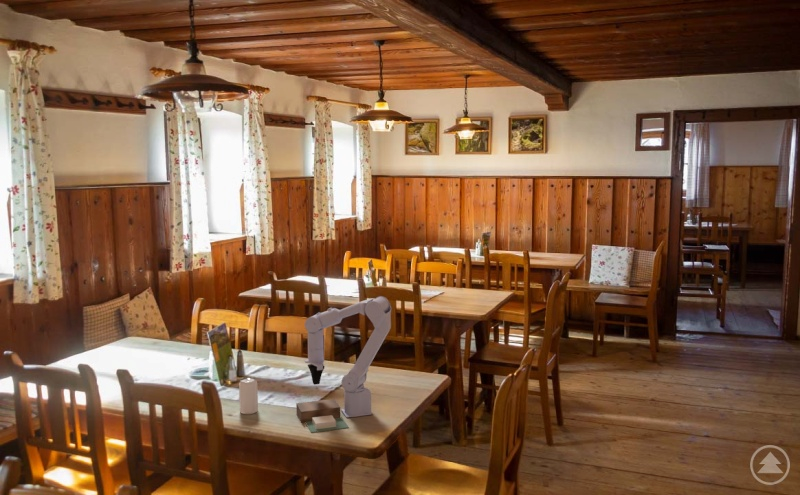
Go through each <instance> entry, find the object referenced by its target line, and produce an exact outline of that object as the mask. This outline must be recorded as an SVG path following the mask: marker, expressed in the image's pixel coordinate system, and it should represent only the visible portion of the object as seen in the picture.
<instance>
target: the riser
mask: <svg viewBox="0 0 800 495" xmlns="http://www.w3.org/2000/svg"><path fill="white" fill-rule="evenodd" d="M295 405H296V415H297V417H298V420H299V421H300V423H302V424H304V423H306V422H308V421H312V418H313V417H321V416H329V415H332V416H333V418H340V417H341V405H339V403H338V402H337V401H336V400H335V398H331V399H321V400H312V401H306V402H304V401H303V402H296V404H295Z"/></svg>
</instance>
